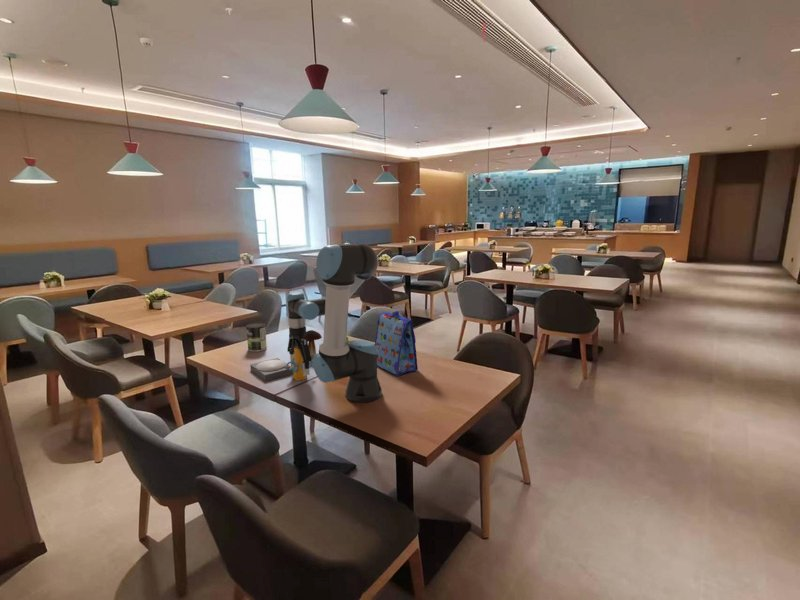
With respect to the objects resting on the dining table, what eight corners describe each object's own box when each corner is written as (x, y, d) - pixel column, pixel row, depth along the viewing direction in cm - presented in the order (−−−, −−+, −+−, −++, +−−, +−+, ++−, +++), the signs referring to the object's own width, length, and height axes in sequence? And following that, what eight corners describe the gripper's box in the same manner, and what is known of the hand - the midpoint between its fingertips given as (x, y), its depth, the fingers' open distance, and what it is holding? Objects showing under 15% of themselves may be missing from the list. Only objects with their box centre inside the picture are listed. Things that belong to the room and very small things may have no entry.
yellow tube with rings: (305, 384, 179) (303, 352, 176) (283, 382, 181) (281, 351, 178) (316, 373, 191) (314, 344, 188) (296, 372, 193) (294, 342, 190)
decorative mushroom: (301, 361, 207) (300, 333, 204) (301, 354, 218) (300, 328, 215) (323, 359, 210) (322, 332, 207) (322, 353, 220) (321, 326, 217)
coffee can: (252, 353, 221) (250, 328, 218) (245, 348, 228) (243, 324, 225) (270, 348, 227) (268, 325, 225) (262, 344, 235) (260, 321, 232)
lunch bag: (418, 370, 195) (418, 313, 189) (396, 377, 187) (395, 317, 181) (392, 358, 212) (392, 305, 206) (370, 363, 204) (369, 309, 198)
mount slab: (293, 373, 191) (293, 366, 191) (265, 381, 182) (264, 373, 182) (277, 363, 205) (277, 356, 204) (250, 370, 196) (250, 363, 195)
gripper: (318, 330, 174) (320, 376, 179) (293, 319, 192) (295, 362, 197) (302, 333, 170) (304, 381, 174) (278, 322, 188) (281, 365, 192)
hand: (300, 371), depth 185 cm, fingers closed on yellow tube with rings, 12 cm apart
